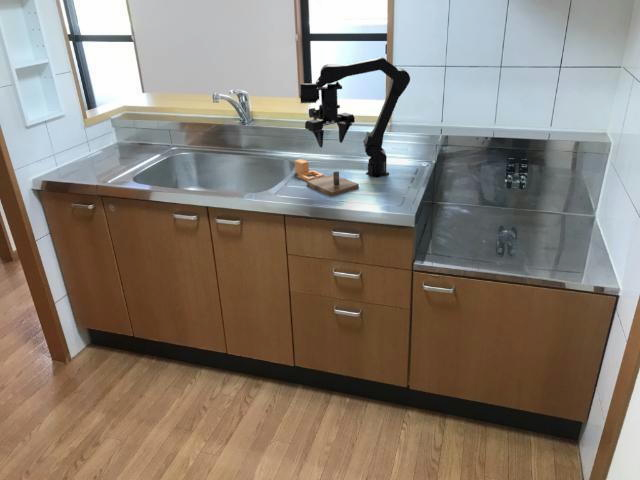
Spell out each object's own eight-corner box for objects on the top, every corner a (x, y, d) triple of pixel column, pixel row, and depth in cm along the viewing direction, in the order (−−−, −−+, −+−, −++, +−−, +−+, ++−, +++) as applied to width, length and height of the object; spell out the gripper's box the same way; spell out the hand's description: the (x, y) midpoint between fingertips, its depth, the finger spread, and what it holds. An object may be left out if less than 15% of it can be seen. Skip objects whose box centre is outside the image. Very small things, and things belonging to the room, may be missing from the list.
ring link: (324, 177, 195) (323, 164, 192) (308, 181, 191) (308, 168, 189) (306, 170, 203) (305, 157, 201) (291, 174, 200) (290, 161, 198)
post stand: (358, 188, 183) (358, 171, 180) (331, 196, 177) (330, 179, 174) (333, 177, 194) (332, 162, 191) (306, 185, 188) (306, 169, 185)
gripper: (336, 95, 194) (337, 136, 201) (295, 103, 185) (298, 145, 192) (355, 99, 186) (355, 141, 193) (313, 107, 177) (315, 151, 184)
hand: (331, 144), depth 191 cm, fingers open, 9 cm apart
